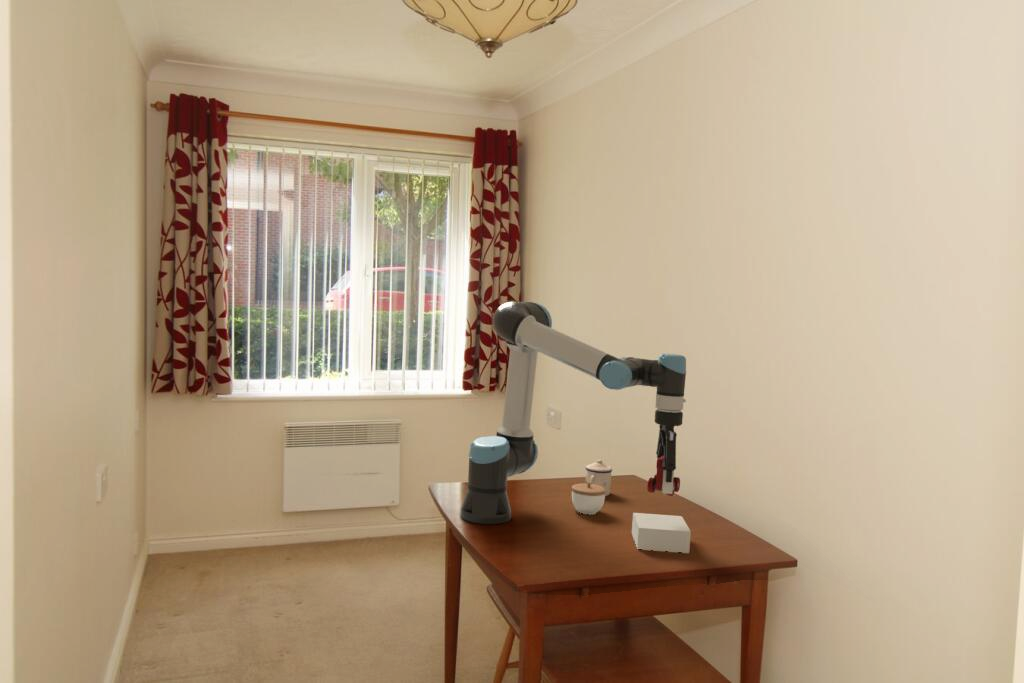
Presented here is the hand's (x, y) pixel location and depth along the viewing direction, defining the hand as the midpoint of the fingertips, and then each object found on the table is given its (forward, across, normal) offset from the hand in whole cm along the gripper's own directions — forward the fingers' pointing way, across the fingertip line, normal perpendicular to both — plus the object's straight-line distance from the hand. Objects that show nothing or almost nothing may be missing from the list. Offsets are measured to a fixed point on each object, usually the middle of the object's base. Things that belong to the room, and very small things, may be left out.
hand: (663, 487), depth 209 cm
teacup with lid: (+16, +47, +15) cm, 52 cm away
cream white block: (+16, 0, 0) cm, 16 cm away
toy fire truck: (+1, 0, 0) cm, 1 cm away
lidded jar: (+16, +25, +19) cm, 35 cm away
